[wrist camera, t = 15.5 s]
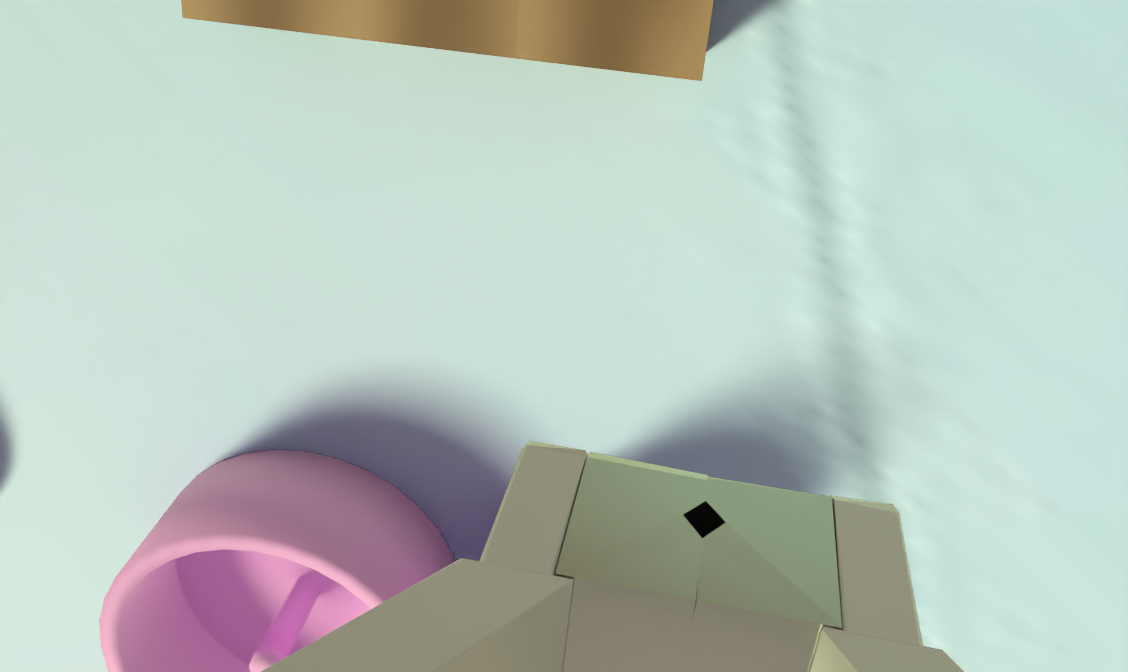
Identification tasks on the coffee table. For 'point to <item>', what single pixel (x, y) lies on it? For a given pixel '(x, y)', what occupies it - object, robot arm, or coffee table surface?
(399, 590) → the container set
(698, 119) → the coffee table surface
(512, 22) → the walnut board
